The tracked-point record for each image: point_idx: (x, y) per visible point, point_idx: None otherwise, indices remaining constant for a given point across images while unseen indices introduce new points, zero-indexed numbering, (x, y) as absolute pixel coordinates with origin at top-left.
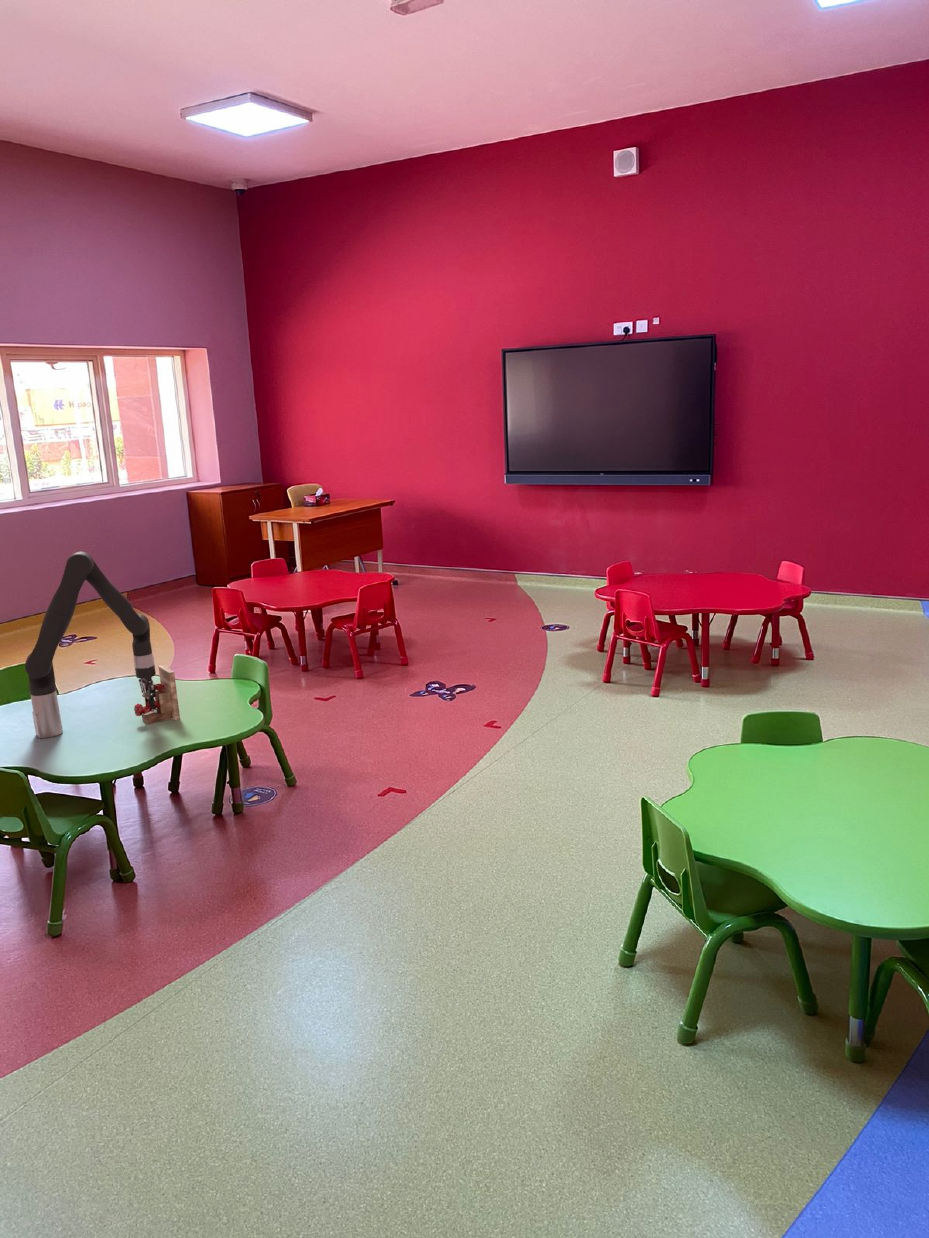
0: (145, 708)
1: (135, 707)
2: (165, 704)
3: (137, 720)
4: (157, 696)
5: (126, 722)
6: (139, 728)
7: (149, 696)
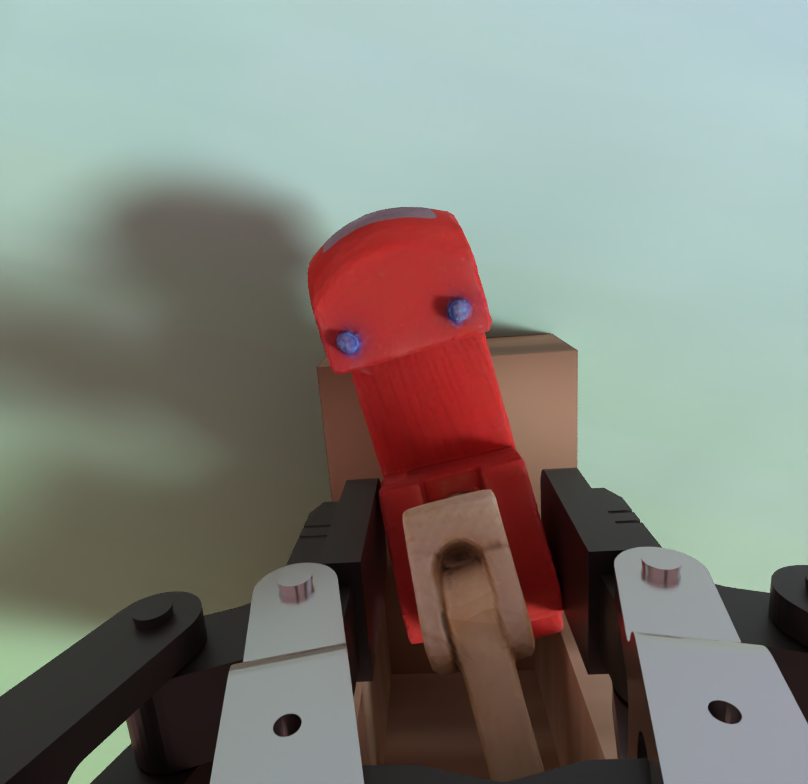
0: (374, 406)
1: (365, 224)
2: None
3: (579, 275)
4: (586, 744)
5: (608, 127)
6: (253, 221)
7: (107, 637)
